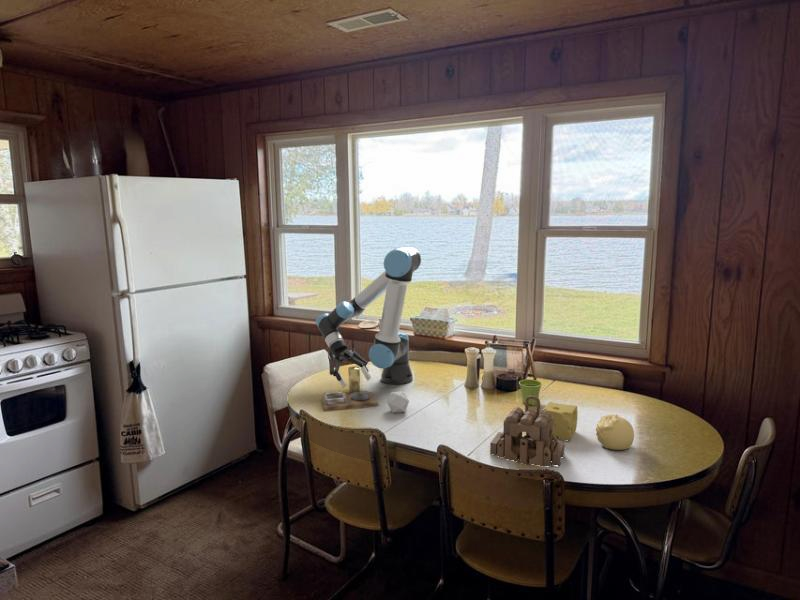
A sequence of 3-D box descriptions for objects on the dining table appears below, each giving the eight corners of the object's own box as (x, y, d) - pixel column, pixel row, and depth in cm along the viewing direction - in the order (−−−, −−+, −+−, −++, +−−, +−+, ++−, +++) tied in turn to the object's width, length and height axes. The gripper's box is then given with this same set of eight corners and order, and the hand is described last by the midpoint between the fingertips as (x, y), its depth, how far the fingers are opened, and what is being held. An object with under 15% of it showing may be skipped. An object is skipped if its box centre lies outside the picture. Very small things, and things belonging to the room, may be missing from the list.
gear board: (372, 394, 235) (372, 385, 235) (377, 405, 222) (377, 396, 221) (322, 399, 231) (321, 389, 230) (324, 410, 217) (324, 400, 217)
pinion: (359, 389, 243) (358, 366, 241) (360, 393, 238) (360, 369, 236) (348, 390, 242) (347, 366, 240) (349, 394, 237) (348, 370, 235)
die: (404, 418, 210) (414, 395, 213) (384, 408, 210) (395, 385, 212) (400, 417, 218) (410, 396, 221) (381, 408, 218) (392, 386, 220)
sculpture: (596, 437, 188) (597, 407, 187) (633, 442, 184) (634, 412, 182) (594, 450, 178) (595, 419, 176) (633, 456, 173) (635, 424, 172)
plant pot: (527, 408, 216) (528, 387, 215) (513, 401, 225) (514, 381, 223) (546, 404, 220) (546, 384, 219) (531, 397, 228) (532, 378, 227)
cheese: (569, 442, 184) (570, 414, 183) (539, 436, 190) (539, 409, 188) (577, 431, 193) (578, 405, 192) (547, 425, 199) (548, 400, 197)
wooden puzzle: (488, 457, 174) (488, 403, 171) (500, 440, 187) (501, 389, 184) (557, 471, 165) (559, 413, 161) (565, 452, 177) (567, 398, 174)
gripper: (354, 343, 257) (375, 380, 248) (310, 353, 240) (330, 393, 232) (361, 334, 252) (382, 372, 243) (316, 344, 235) (337, 384, 227)
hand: (357, 382), depth 237 cm, fingers open, 13 cm apart
